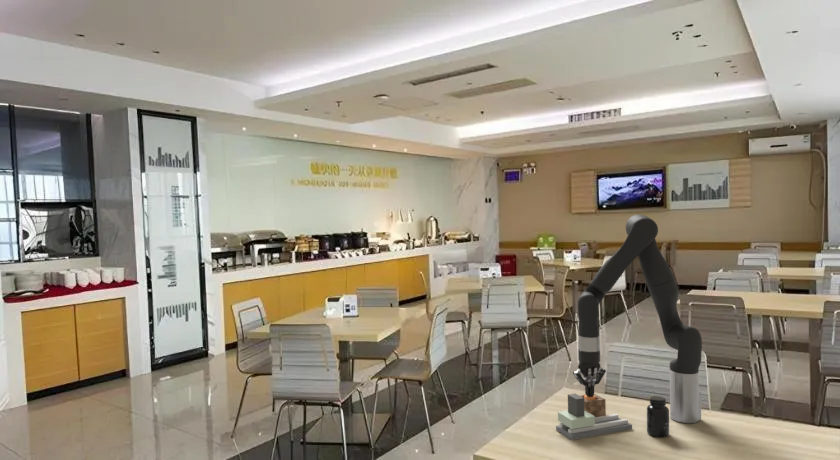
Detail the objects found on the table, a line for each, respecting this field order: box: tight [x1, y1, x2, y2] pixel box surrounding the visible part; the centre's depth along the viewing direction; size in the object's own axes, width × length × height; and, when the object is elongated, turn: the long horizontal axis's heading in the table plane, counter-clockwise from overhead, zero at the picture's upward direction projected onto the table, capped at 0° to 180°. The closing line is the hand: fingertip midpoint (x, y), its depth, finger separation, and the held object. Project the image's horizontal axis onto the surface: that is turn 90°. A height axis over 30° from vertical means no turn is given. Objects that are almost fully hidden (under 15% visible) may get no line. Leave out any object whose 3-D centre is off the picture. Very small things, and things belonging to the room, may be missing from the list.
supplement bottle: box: [646, 395, 670, 438], centre depth 181 cm, size 7×7×12 cm
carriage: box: [557, 393, 595, 429], centre depth 184 cm, size 9×8×9 cm
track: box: [555, 413, 633, 441], centre depth 186 cm, size 24×9×3 cm, turn 109°
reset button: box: [583, 394, 595, 400], centre depth 196 cm, size 4×4×4 cm
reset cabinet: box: [578, 393, 607, 417], centre depth 196 cm, size 9×7×8 cm
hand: (589, 396), depth 196 cm, fingers closed
